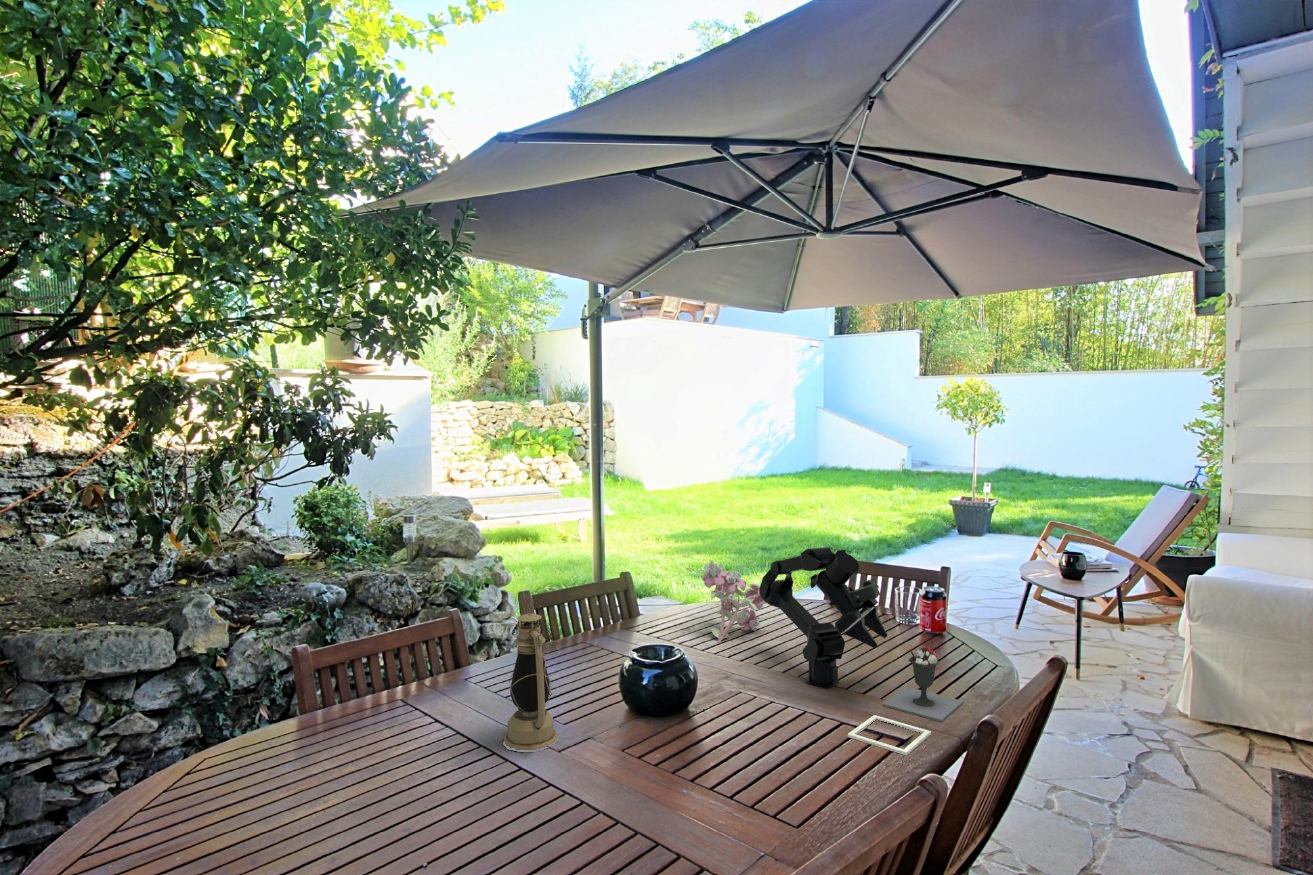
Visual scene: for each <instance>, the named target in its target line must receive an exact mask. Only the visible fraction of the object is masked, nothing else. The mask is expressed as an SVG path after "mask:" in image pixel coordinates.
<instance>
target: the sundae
mask: <svg viewBox="0 0 1313 875" xmlns="http://www.w3.org/2000/svg"><path fill="white" fill-rule="evenodd" d="M934 642H935V640H931V641H930V642H929V643H928V644H927V645H924V646H922V648H918V649H917V650H916V651H915V654H914V653H913V651H912V650H910V653H911V657H910V658H909V659H908V662H910V663H911V664H912V668H913V677H914V681H915V684H916V685H917V686H918V687H919V688H920V690H921V696H920V698H915V699H913V702H914V703H915V704H917V705H919V706H925V707H929V706H933V705H934V704H935V703H934V701H932V700H930V699H928V698H927V694H926V692H927V689H929V688H930V687H931V686H932V685H933V684H934V680H935V672H936V668H937V665H939V664H940V662H939V660H938V659H937V657H936V655H935V654H934V650H933V649H932V644H933V643H934ZM929 645H930V649H929V647H928V646H929Z"/></svg>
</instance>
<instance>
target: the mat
mask: <svg viewBox="0 0 1313 875" xmlns="http://www.w3.org/2000/svg"><path fill="white" fill-rule="evenodd" d="M926 694H927V698H928V699H930V700H932V701H934V703H935V704H934V705H933V706H929V707H925V706H919V705H917V704H915V703H914V702H913V699H915V698H920V696H921V689H917V688H913V687H909V686H905V687H904V688H902V689H901V690H900V691H898V692H897V693H895V694H894V695H892V696H891V697H890V698H888V699H887V700H885V701H884V702H882V703H881V706H882V705H883V706H882V707H885V706H887V707H886V708H889V707H890V708H889V709H892V708H895V709H894V710H896V709H897V710H896V711H899V710H901V711H900V712H903V711H905V712H904V713H907V712H908V713H907V714H910V713H912V714H911V715H914V716H918V715H919V716H918V717H921V716H922V717H921V718H925V717H926V718H925V719H929V720H933V721H936V722H941V723H942V722H943V721H944V720H946V719H947V718H949V716H951V714H953V713H954V712H955V711H956V710H958V709H959V708H960V707H961V706H963V704H964V700H961V699H956V698H952V697H949V696H946V695H941V694H937V693H933V692H929V691H926Z"/></svg>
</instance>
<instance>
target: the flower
mask: <svg viewBox="0 0 1313 875" xmlns="http://www.w3.org/2000/svg"><path fill="white" fill-rule="evenodd" d="M703 568H704V570H705V572H704V573H703V575H702V578H701V579H702V581H703V584H704V586H705V587H707V588H709V589H711V587H713V586H715V588H714V590H711V591H710V599H711V601H713V600H714V598H717V599H720V600H719V601H718V603H720V602H721V604H720V606H721V607H720V610H719V611H718V612H717V613H716V615H721V623H720V628H719V627H714V626H712V627H711V632H712V635H713V636H714V637H716V638H717V639H718V640H717V642H718V643H720V642H721V641H722V640H724V639H725V638H726V639H729V637H730V636H729V631H730V630H731V629H732V627H733V625H734V624H735V622H737V625H738V626H739V627H740V629H741V630H742V631H743V632H744V631H745V632H746V631H749V630H752V632H753V631H758V630H757V628H758V627H759V626H760V625H761V622H760V619H761V618H760V617H758V616H757V615H756V610H757V609H758V610H761V608H763V606H764V605H766V604H767V603H766V602H765V601H764V600H763V599H762V597H761V596H760V593H759V589H760V586H759V585H758V584H756V583H750V584H749V585H748V587H750V588H751V589H749V588H748V589H746V588H747V581H746V580H745V579H743V576H742V574H741V573H740V572H739V571H738V570H736V571H731V568H730V567H728V570H727V571H725V569H724V568H723V564H722V562H719V564H718V566H717V563H715V562H714V561H713V560H711V559H710V561H709V564H708V563H707V564H705V563H704V567H703ZM740 589H741V590H742V591H741V590H740ZM745 590H746V591H745ZM744 591H745V592H744ZM735 594H737V597H738V598H737V599H736V595H735ZM740 596H743V597H744V598H745V599H744V600H743V601H741V603H740ZM751 600H752V601H751ZM746 607H749V608H750V609H748V608H746ZM733 608H734V609H735V611H734V610H733ZM740 608H743V609H742V610H741V611H739V609H740ZM725 617H726V618H727V619H728V620H729V622H728V623H727V625H726V626H725ZM724 627H725V628H724Z"/></svg>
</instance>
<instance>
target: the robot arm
mask: <svg viewBox="0 0 1313 875" xmlns="http://www.w3.org/2000/svg"><path fill="white" fill-rule="evenodd" d="M859 566H860V565H859V561H858V560H857V559H856V558H855V557H854V556H853V555H850V554H849V553H847V551H846V550H845V549H838V550H836V552H834V551H832V549H831V547H829V546H825V547H823V546H822V547H813V548H806V549H804V550H803V551H801V552H800V555H798V556H793V557H788V558H785V559H780V560H779V559H778V560H777V559H776V560H774V561H773V562H772V563H771V566H770V568H769V570H768V571H767V572H766V574H764V576H763V577H762V579H761V582H760V586H759V588H760V589H759V593H760V596H761V597H762V599H763V600H764V601H765V602H766V604H768V605H769V606H770V607H771V606H772V607H776V608H778V609H780V610H781V612H783V613H784V614H785V616H786V617H787V618H788V619H789V620H790V621H791V622H792V623H793V624H794V626H795V627H797V629H799V631H801V633H802V634H803V635H804V636H805V637H806V643H807V644H806V645H805V646H804V647H803V649H802V655H803V659H804V660H806V661H808V678H807V679H805V683H806V684H810V685H814V686H816V687H821V688H823V689H830V688H831V687H834V685H835V686H836V684H838V683H840V679H839V667H838V666H837V660H842V657H843V654H844V651H845V650H844V649H845V647H846V646H845V639H844V637H843V635H844V636H847V637H850V638H852V639H854V640H857V641H859V642H860V643H863V644H865V645H867V646H869V647H871V648H873V649H875V648H877V647H878V643H877V642H876V639H874V637H873V635H872V634H871V633H870V632H869V630H871V631H872V632H874V633H876V634H877V635H879V636H880V637H882V638H884V639H886V638H887V637H888V633H887V631H886V629H885V627H884V625H883V624H882V622H881V619H880V617H879V615H878V610H879V604H878V603H879V601H878V600H877V598H878V596H881V593H880V590H879V588H880V586H879V585H878V584H877V583H876V582H875V581H873V580H872V579H868V580H865V581H863V583H862V586H861V587H859V588H856V589H855V588H854V587H853V586H852V585H849V586H848V585H847V582H848V581H849V580H850V579H852V577H853V576H855V574H856V573H857V572H858V571H859ZM800 571H808V572H814V571H820V572H819V573H817V574H816V573H814V575H812V576H811V577H810V588H811V589H814V588H815V587H817V588H818V589H819V591H821V593H822V594H823V595H824V596H825V597H826V598H827V599H828V601H829V603H828V605H829V606H830V607H832V608H833V606H834V607H835V608H836V610H837V611H838V612H839V613H840V618H839V619H838V620H837V621H836V622H834V624H833V623H832V622H830V621H829V622H820V621H818V620H817V619H816V618H815V617H814V616H813V615H812V614H811V613H810V612H809V611H808V610H807V609H806V608H805V607H804V606H803V605H802V604H801V603H800V602H799V601H798V600H797V599H796V598H795V597H794V596H793V592H794V591H793V585H794V583H795V582H794V579H793V577H792V573H795V572H800ZM779 575H780V576H781V575H785V578H784V579H783V578H782V579H777V578H778V577H779ZM877 604H878V605H877ZM868 629H869V630H868ZM842 634H843V635H842Z"/></svg>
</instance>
